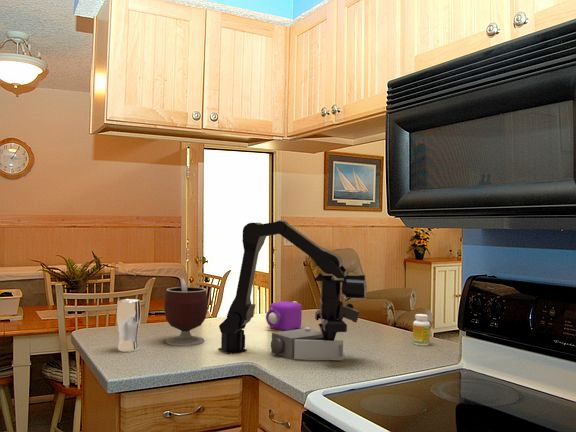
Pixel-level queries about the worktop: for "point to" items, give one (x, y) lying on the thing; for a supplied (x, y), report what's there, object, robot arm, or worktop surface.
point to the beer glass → (128, 324)
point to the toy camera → (284, 315)
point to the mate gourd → (185, 312)
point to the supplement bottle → (421, 330)
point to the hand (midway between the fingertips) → (329, 349)
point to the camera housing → (292, 340)
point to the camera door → (318, 349)
